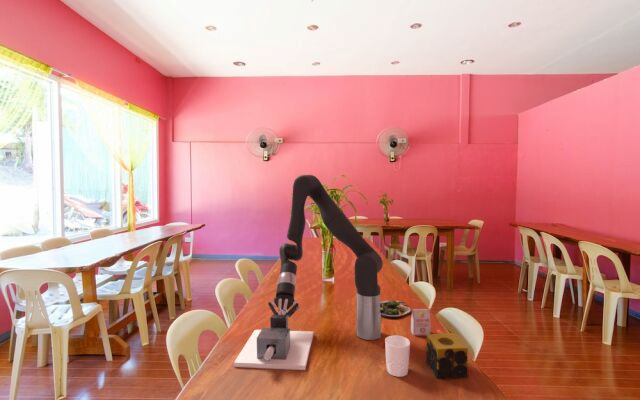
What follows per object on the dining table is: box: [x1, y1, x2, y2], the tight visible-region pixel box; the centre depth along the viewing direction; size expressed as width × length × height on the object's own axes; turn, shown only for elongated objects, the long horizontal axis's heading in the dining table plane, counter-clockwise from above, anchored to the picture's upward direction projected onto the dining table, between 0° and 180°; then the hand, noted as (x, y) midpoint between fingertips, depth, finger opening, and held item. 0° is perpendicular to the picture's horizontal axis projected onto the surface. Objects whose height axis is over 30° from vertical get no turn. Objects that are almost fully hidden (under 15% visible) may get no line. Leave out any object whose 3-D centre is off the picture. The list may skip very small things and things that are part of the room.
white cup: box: [384, 334, 411, 378], centre depth 106 cm, size 8×8×10 cm
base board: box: [233, 329, 314, 371], centre depth 120 cm, size 24×24×2 cm
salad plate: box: [380, 300, 412, 320], centre depth 156 cm, size 19×18×5 cm
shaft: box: [263, 313, 289, 362], centre depth 115 cm, size 6×20×9 cm, turn 175°
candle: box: [425, 332, 469, 380], centre depth 106 cm, size 10×10×10 cm
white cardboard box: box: [410, 308, 432, 337], centre depth 131 cm, size 4×7×10 cm, turn 90°
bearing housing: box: [257, 327, 291, 360], centre depth 115 cm, size 10×8×7 cm
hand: (280, 327), depth 125 cm, fingers closed
